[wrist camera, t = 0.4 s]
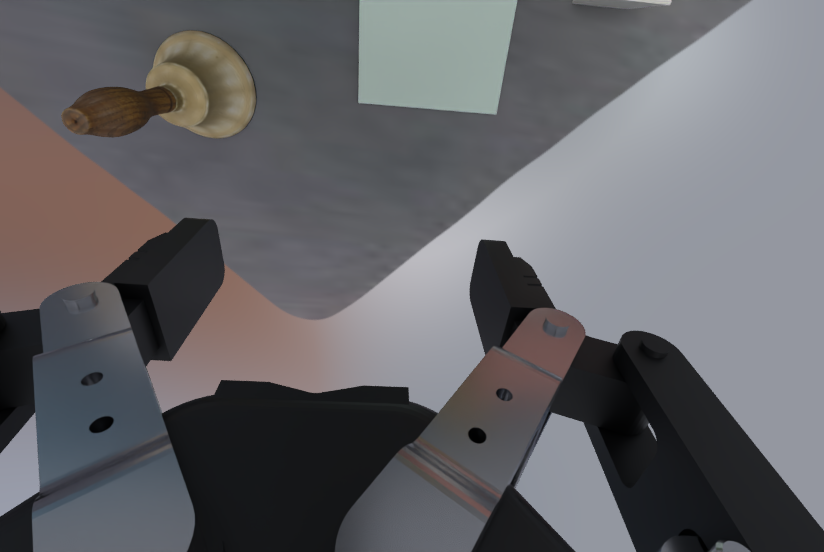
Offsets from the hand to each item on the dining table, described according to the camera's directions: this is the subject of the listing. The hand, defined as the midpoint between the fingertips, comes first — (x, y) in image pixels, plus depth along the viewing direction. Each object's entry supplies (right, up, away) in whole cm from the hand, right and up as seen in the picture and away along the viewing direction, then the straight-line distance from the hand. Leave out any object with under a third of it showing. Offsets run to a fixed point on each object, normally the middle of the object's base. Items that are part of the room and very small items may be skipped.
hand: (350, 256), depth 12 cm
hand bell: (-16, +16, +21) cm, 31 cm away
